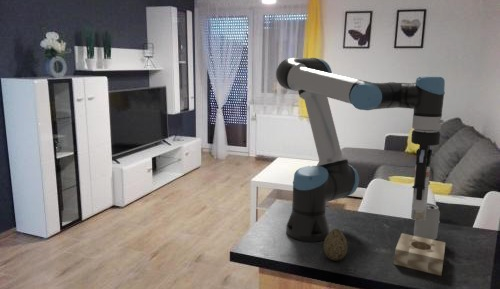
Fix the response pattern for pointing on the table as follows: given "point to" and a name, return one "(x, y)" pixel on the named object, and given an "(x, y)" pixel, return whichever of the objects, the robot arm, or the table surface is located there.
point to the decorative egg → (335, 245)
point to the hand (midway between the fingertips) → (419, 207)
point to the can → (428, 223)
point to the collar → (420, 254)
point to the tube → (420, 214)
